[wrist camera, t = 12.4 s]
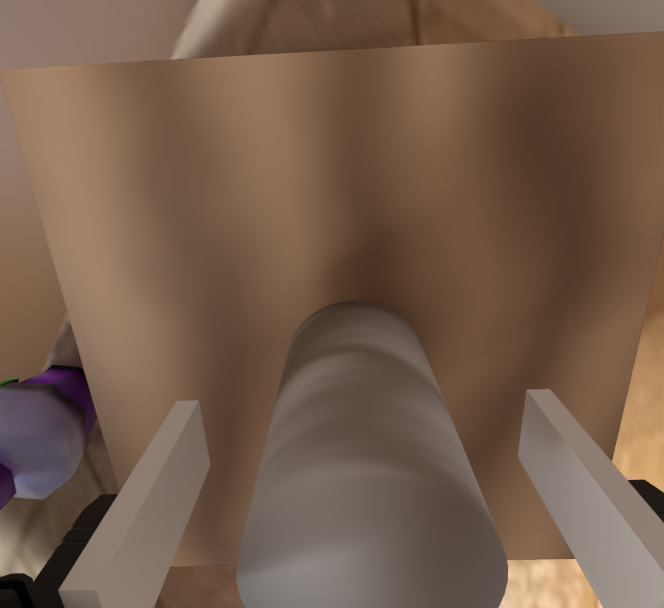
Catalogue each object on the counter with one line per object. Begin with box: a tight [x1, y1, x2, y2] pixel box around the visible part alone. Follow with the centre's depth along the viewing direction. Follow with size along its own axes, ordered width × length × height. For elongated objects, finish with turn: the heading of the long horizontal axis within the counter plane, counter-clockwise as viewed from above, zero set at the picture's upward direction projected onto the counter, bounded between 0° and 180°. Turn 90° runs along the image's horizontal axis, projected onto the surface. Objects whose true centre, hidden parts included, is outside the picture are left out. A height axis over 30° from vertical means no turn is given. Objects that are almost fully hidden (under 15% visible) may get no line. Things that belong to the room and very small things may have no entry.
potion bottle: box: [0, 365, 97, 510], centre depth 29 cm, size 9×9×12 cm
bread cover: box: [0, 32, 664, 608], centre depth 20 cm, size 24×24×23 cm
